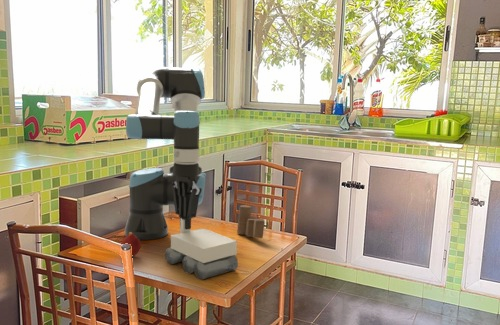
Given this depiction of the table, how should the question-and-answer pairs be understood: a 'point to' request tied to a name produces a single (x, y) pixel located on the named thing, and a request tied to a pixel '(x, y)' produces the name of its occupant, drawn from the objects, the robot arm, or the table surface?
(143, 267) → the table surface
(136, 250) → the onion
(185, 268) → the roller front
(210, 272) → the roller
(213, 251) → the slab
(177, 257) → the cylinder
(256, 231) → the wooden block set
